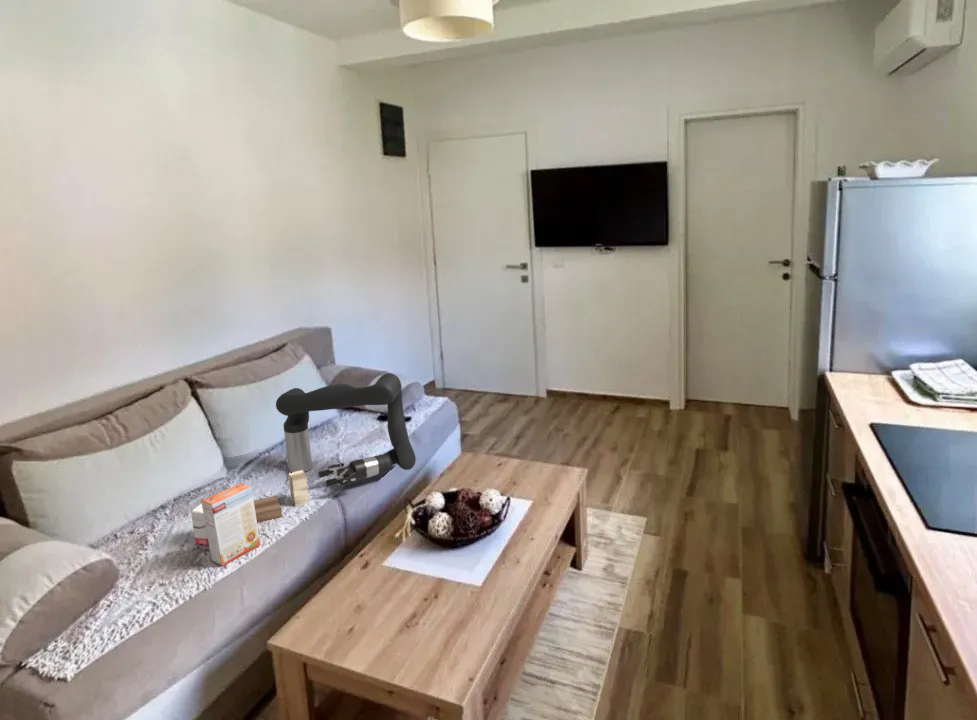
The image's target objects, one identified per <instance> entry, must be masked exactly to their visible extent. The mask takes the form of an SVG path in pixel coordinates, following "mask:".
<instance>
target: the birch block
mask: <svg viewBox="0 0 977 720" xmlns="http://www.w3.org/2000/svg"><path fill="white" fill-rule="evenodd" d="M288 482H289V488H290V498H291V502H292V503H294V504H293V505H294V507H299V506H302V505H306V504H309V503H310V495H309V488H308V487H309V486H308V480H307V474H306V472H304V471H303V470H300V471H296V472H292V473H291V472H289V473H288Z"/></svg>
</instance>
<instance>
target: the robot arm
mask: <svg viewBox="0 0 977 720" xmlns="http://www.w3.org/2000/svg"><path fill="white" fill-rule="evenodd" d="M275 401H276V402H275V407H276V408H275V409H276V410H277V411H278V412H279V414H281V415H283V416H287V418H286V419H285V421H284V423H283V434H284V442H285V449H286V456H287V459H286V460H287V465H288V471H289V473H291V472H296V471H300V470H303V471H304V473H306V472H305V471H307V472H309V471H310V469H311V468H313V461H312V460H313V459H312V452H311V451H312V449H311V441H310V433H309V432H310V431H309V421H310V412H315V411H316V412H317V411H327V410H328V411H329V410H338V409H339V410H340V409H345V408H352V407H360V406H361V407H362V406H386V405H387V431H388V436H389V440H390V444H391V446H392V447H393V448H392V449H390V450H389V451H388V450H387V451H386V452H385V453H382V454H378V455H374V456H367V457H364V458H360V459H356V460H352V461H350V462H349V465H345V463H344V462H341V463H335V464H332V465H329V466H328V467H327V469H324V470H321V471H320V470H319V472H318V477H319V478H320V479H321V478H324V477H325V478H326V477H328V476H334V478H330V479H329V478H328V479H326V480H325V485H326V486H325V487H331V486H335V485H338V486H340V487H344V486H347V485H352V484H354V483H356V482H357V481H360V480H365V479H367V478H368V479H369V478H371V477H375V476H376V475H380V474H384V473H388V472H390V471H391V470H392V468H393V465H395V464H396V465H397V466H399V468H401V469H402V470H405V471H410V470H411V469H413V468H414V466H415V465H416V459H417V458H416V454H415V452H414V448H413V447H412V444H411V441H410V438H409V433H408V430H407V429H408V428H407V425H406V421H405V415H404V404H403V403H404V402H403V389H402V383H401V380H400V377H398V375H396V374H394V373H391V372H386V373H384V374H382V375H381V376H380V377H379V378H378V379H377V380H376V381H375V383H374V384H372V385H369V386H363V387H356V386H354V385H350V384H347V383H338V384H337V383H336V384H331V385H326V386H323V387H320V388H317V389H314V390H311V391H308V392H305V391H304V390H303V389H301V388H300V387H299V388H298V387H294V388H292V389H289V390H288V391H285V392H284V393H282V394H280V396H279V397H278V398H277V399H276V400H275ZM308 470H309V471H308ZM311 470H312V469H311Z"/></svg>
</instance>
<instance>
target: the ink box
mask: <svg viewBox="0 0 977 720" xmlns="http://www.w3.org/2000/svg"><path fill="white" fill-rule="evenodd" d="M190 512H191V513H190V514H191V521H192V528H193V536H194V544H195V545H200V544H203V545H202V546H209V541H208V536H207V530H206V525H205V519H204V514H203V508H202V502H201V503H200V504H199V505H197V506H196V507H194V508H193V509H192V511H190Z"/></svg>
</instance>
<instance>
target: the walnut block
mask: <svg viewBox="0 0 977 720" xmlns="http://www.w3.org/2000/svg"><path fill="white" fill-rule="evenodd" d="M254 506H255V513H256V520H257V524H259V523H258V522H260V523H264V522H263V521H265V522H268V520H269V521H272V519H273V520H277V519H280V517H281V518H283V511H282V506H281V503H280V501H279V498H278V496H277V495H274V496H270V497H266V498H265V497H264V498H261V499H256V500H254ZM276 518H277V519H276Z"/></svg>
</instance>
